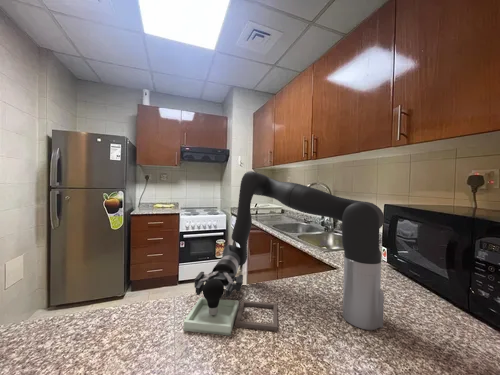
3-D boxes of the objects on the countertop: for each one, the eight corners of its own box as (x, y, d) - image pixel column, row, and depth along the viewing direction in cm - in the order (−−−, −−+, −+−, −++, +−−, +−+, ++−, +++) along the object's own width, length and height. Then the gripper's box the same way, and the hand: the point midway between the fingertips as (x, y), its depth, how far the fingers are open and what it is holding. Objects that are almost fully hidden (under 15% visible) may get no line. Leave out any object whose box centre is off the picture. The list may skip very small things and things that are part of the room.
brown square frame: (276, 306, 64) (276, 303, 64) (277, 331, 53) (277, 327, 53) (241, 303, 65) (241, 300, 65) (234, 326, 54) (235, 322, 54)
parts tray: (238, 308, 63) (238, 300, 63) (230, 335, 51) (230, 326, 51) (200, 304, 64) (200, 297, 64) (183, 330, 52) (183, 321, 52)
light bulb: (219, 323, 54) (219, 284, 54) (198, 320, 55) (199, 282, 56) (226, 310, 60) (226, 276, 60) (207, 308, 61) (208, 274, 61)
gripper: (206, 257, 72) (186, 276, 56) (246, 260, 71) (239, 281, 55) (205, 278, 72) (185, 304, 56) (246, 282, 71) (238, 309, 54)
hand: (212, 293), depth 55 cm, fingers open, 7 cm apart
